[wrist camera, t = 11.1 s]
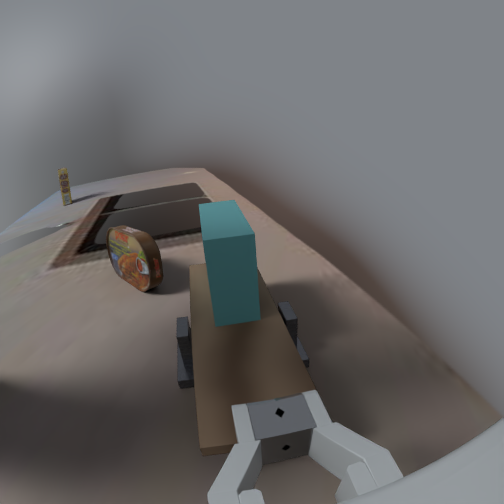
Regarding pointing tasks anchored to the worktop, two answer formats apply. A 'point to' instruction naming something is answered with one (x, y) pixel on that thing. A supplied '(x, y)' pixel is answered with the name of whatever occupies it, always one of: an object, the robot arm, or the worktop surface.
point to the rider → (230, 263)
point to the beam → (238, 363)
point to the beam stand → (186, 344)
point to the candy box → (64, 186)
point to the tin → (135, 257)
